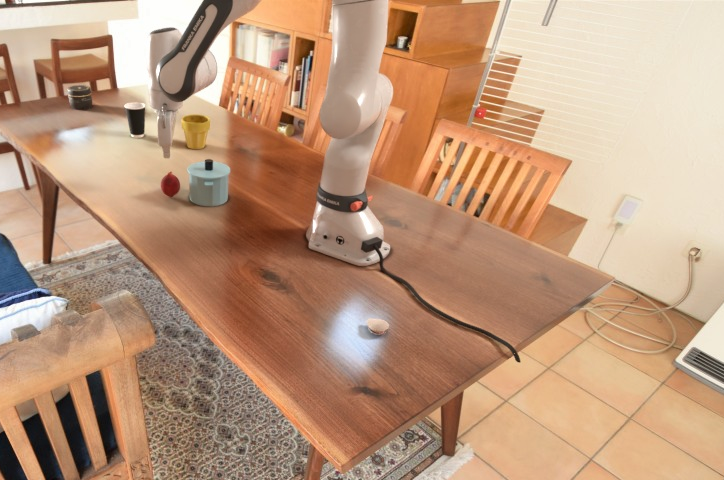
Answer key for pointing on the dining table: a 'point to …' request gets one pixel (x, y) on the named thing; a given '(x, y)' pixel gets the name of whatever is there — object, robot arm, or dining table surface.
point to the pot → (208, 191)
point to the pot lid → (208, 169)
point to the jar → (80, 97)
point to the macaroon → (377, 326)
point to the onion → (170, 184)
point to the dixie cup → (136, 118)
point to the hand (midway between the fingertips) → (168, 151)
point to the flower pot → (195, 130)
